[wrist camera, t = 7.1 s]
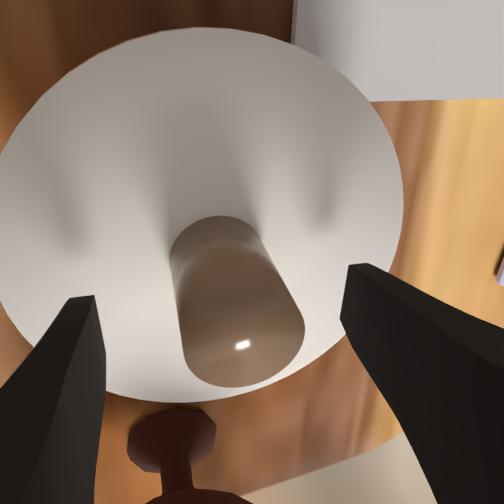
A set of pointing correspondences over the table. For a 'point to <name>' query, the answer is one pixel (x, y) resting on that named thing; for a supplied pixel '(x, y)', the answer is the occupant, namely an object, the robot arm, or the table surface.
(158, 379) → the lid
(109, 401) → the table surface
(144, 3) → the table surface
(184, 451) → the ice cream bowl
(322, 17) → the mat
